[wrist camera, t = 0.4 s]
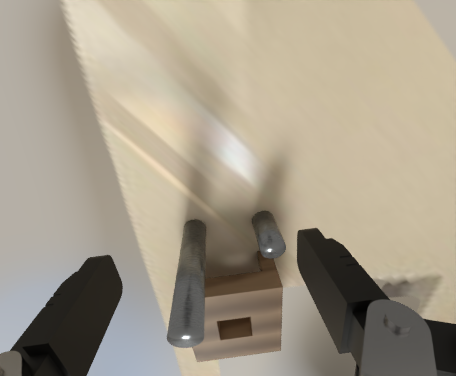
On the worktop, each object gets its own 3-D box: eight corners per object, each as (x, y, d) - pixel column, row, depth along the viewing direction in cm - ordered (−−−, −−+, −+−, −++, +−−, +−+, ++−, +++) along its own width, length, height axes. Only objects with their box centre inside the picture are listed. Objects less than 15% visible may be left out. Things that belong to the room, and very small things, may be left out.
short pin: (251, 212, 32) (259, 240, 27) (273, 209, 32) (286, 237, 27) (252, 229, 33) (260, 260, 28) (273, 227, 34) (285, 256, 28)
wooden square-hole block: (182, 260, 35) (177, 301, 29) (269, 249, 36) (282, 287, 29) (198, 320, 43) (197, 362, 37) (270, 310, 43) (280, 350, 37)
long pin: (182, 221, 32) (162, 329, 19) (204, 218, 32) (201, 324, 19) (186, 238, 33) (171, 349, 20) (207, 235, 33) (206, 345, 20)
